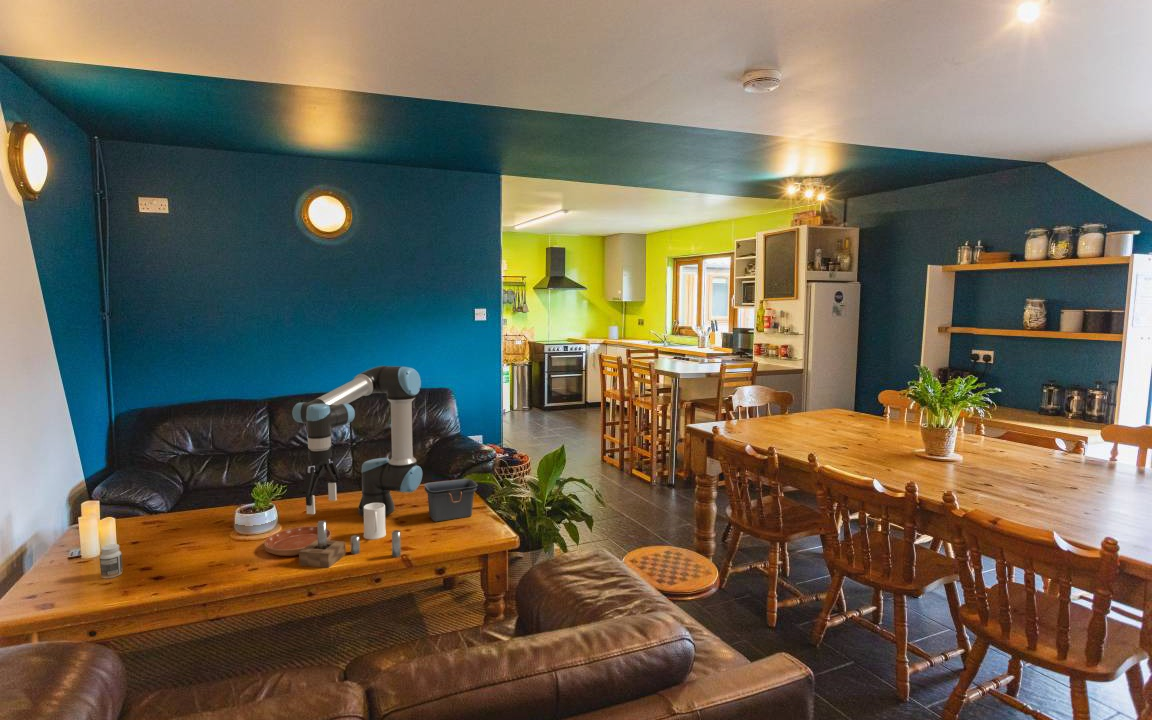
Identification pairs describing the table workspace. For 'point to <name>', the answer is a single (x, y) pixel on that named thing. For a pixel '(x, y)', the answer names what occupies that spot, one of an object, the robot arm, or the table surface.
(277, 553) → the saucer
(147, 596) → the table surface
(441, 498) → the storage bin
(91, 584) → the table surface
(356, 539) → the short pin
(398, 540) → the medium pin
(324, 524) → the long pin
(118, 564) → the pill bottle
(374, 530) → the mug
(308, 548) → the socket block
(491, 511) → the table surface
